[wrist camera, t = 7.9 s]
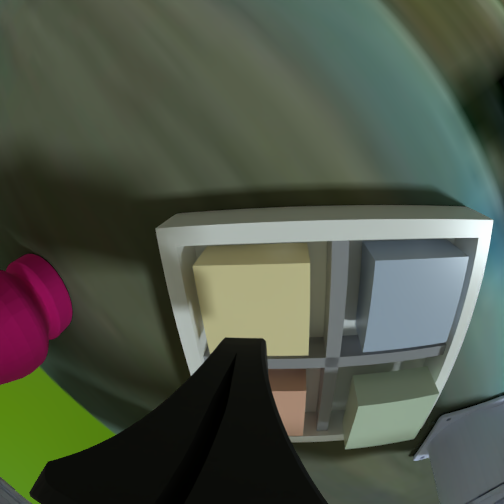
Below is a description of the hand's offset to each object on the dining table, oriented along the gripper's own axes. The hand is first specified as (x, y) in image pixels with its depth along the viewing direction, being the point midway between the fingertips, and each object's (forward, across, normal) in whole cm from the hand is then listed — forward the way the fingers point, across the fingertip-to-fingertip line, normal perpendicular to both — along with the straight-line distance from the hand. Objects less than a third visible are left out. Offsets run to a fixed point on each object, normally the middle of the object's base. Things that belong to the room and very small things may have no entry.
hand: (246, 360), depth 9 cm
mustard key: (+5, 0, 0) cm, 5 cm away
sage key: (+4, -7, +7) cm, 10 cm away
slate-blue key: (+5, -7, 0) cm, 8 cm away
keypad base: (+6, -3, +3) cm, 7 cm away
